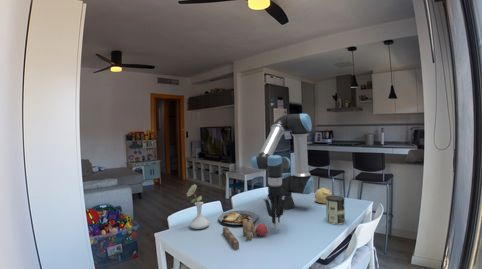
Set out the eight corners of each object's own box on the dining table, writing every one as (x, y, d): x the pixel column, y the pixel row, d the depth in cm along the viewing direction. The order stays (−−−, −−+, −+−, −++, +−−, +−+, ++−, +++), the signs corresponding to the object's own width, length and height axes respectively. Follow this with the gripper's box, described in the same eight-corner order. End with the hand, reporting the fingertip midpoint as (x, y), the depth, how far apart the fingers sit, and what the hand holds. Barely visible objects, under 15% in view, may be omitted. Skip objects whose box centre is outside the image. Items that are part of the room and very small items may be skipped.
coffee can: (343, 218, 153) (342, 195, 153) (346, 225, 143) (346, 200, 143) (325, 217, 155) (324, 194, 155) (327, 224, 145) (327, 199, 145)
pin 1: (242, 235, 133) (242, 219, 132) (246, 234, 133) (246, 218, 133) (244, 237, 130) (243, 220, 130) (248, 236, 131) (248, 220, 131)
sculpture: (331, 205, 179) (330, 190, 179) (313, 203, 184) (313, 189, 184) (332, 201, 189) (332, 186, 189) (316, 199, 194) (316, 185, 194)
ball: (262, 220, 135) (265, 230, 136) (252, 225, 133) (255, 235, 134) (267, 223, 130) (270, 234, 130) (257, 229, 128) (260, 239, 128)
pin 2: (245, 239, 128) (245, 222, 128) (250, 238, 129) (249, 221, 128) (247, 241, 126) (247, 224, 125) (252, 240, 126) (251, 223, 126)
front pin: (252, 235, 132) (247, 221, 130) (256, 233, 132) (251, 219, 131) (254, 237, 129) (248, 222, 128) (258, 235, 130) (253, 220, 129)
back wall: (222, 233, 135) (222, 227, 135) (226, 232, 136) (226, 226, 136) (234, 250, 117) (234, 242, 117) (239, 249, 117) (238, 241, 117)
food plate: (250, 229, 140) (250, 223, 140) (212, 225, 148) (212, 219, 148) (262, 216, 163) (262, 210, 163) (229, 213, 171) (228, 207, 171)
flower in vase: (201, 221, 154) (200, 180, 153) (213, 226, 146) (212, 183, 145) (183, 228, 144) (181, 184, 144) (194, 233, 136) (193, 187, 136)
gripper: (267, 187, 129) (268, 233, 129) (289, 185, 133) (290, 229, 134) (260, 184, 136) (261, 228, 136) (282, 182, 140) (283, 224, 141)
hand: (276, 228), depth 135 cm, fingers closed
